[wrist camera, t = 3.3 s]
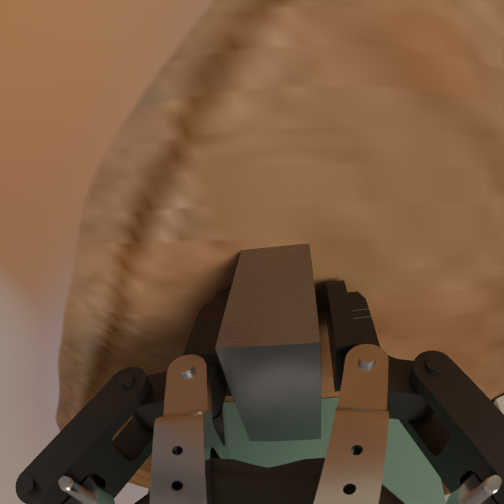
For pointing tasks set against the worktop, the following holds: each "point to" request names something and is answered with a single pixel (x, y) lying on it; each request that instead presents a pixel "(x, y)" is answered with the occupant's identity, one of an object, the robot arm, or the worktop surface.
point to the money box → (282, 452)
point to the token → (273, 344)
